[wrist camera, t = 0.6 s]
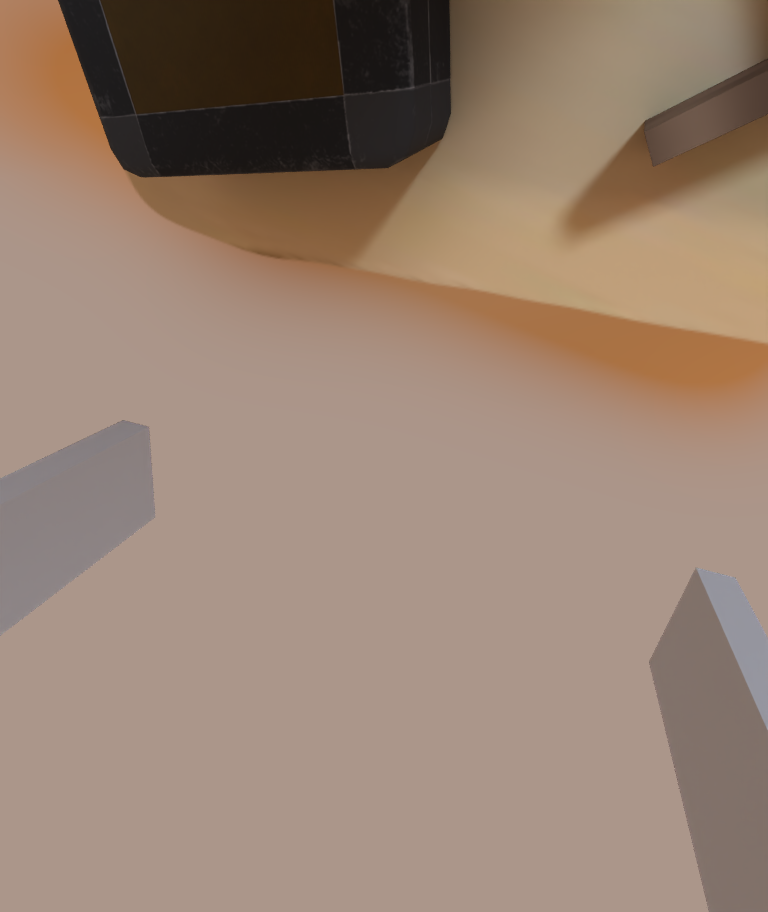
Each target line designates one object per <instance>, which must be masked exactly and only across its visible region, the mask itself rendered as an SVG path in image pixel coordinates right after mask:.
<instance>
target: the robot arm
mask: <svg viewBox="0 0 768 912" xmlns="http://www.w3.org/2000/svg"><path fill="white" fill-rule="evenodd" d="M149 435H150V434H149V427H147V426H144V425H140V424H136V423H132V422H128V421H125V420H122V421H121V422H118V423H116V424H114V425H112V426H110V427H108V428H105V429H104V430H101V431H99V432H97V433H95V434H93V435H91V436H89V437H87V438H84V439H82V440H80V441H78V442H76V443H74V444H72V445H70V446H68V447H66V448H63V449H61V450H59V451H57V452H55V453H53V454H51V455H49V456H47V457H44V458H42V459H40V460H38V461H36V462H34V463H32V464H30V465H28V466H26V467H23V468H21V469H19V470H17V471H15V472H13V473H11V474H9V475H7V476H4V477H2V478H0V635H2V634H3V633H4V632H6V631H7V630H8V629H9V628H11V627H12V626H13V625H15V624H16V623H17V622H19V621H20V620H21V619H23V618H24V617H25V616H27V615H28V614H29V613H30V612H32V611H33V610H34V609H36V608H37V607H38V606H40V605H41V604H42V603H44V602H45V601H46V600H48V599H49V598H50V597H51V596H53V595H54V594H55V593H57V592H58V591H59V590H61V589H62V588H63V587H64V586H66V585H67V584H68V583H69V582H71V581H72V580H74V579H75V578H76V577H78V576H79V575H80V574H81V573H83V572H84V571H85V570H87V569H88V568H89V567H91V566H92V565H93V564H94V563H96V562H97V561H99V560H100V559H101V558H102V557H104V556H105V555H106V554H108V553H109V552H110V551H112V550H113V549H114V548H116V547H117V546H118V545H119V544H121V543H122V542H123V541H125V540H126V539H127V538H129V537H130V536H131V535H133V534H134V533H135V532H136V531H138V530H139V529H140V528H142V527H143V526H144V525H146V524H147V523H148V522H149V521H151V520H152V519H153V518H155V506H154V494H153V493H154V492H153V477H152V463H151V449H150V436H149ZM649 663H650V668H651V672H652V676H653V680H654V685H655V689H656V692H657V697H658V701H659V705H660V710H661V714H662V718H663V722H664V726H665V731H666V735H667V738H668V743H669V747H670V751H671V756H672V760H673V764H674V768H675V772H676V776H677V780H678V785H679V789H680V793H681V797H682V801H683V806H684V809H685V814H686V818H687V822H688V826H689V830H690V834H691V839H692V843H693V847H694V851H695V855H696V859H697V864H698V868H699V872H700V876H701V880H702V885H703V889H704V893H705V897H706V901H707V906H708V910H709V912H768V638H767V636H766V634H765V632H764V630H763V628H762V627H761V625H760V623H759V621H758V619H757V617H756V615H755V613H754V611H753V610H752V608H751V606H750V604H749V602H748V600H747V598H746V597H745V595H744V593H743V591H742V589H741V587H740V585H739V584H738V582H737V580H736V578H734V577H730V576H727V575H723V574H719V573H715V572H711V571H707V570H703V569H699V568H695V571H694V572H693V574H692V576H691V578H690V581H689V582H688V585H687V587H686V589H685V591H684V593H683V595H682V597H681V599H680V601H679V603H678V605H677V607H676V609H675V611H674V613H673V615H672V617H671V619H670V621H669V623H668V625H667V627H666V629H665V631H664V633H663V635H662V637H661V639H660V641H659V643H658V645H657V647H656V649H655V651H654V653H653V655H652V657H651V659H650V661H649Z"/></svg>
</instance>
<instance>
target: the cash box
mask: <svg viewBox="0 0 768 912" xmlns="http://www.w3.org/2000/svg"><path fill="white" fill-rule="evenodd" d="M58 1H59V4H60V7H61V10H62V13H63V15H64V18H65V21H66V24H67V27H68V29H69V32H70V35H71V38H72V41H73V43H74V46H75V49H76V52H77V55H78V58H79V61H80V63H81V66H82V69H83V72H84V75H85V77H86V80H87V83H88V86H89V89H90V92H91V94H92V97H93V100H94V103H95V106H96V109H97V111H98V114H99V117H100V119H101V122H102V125H103V128H104V131H105V134H106V136H107V139H108V142H109V145H110V148H111V150H112V151H113V153H114V155H115V156H116V158H117V159H118V161H119V163H120V164H121V166H122V167H123V169H125V170H127V171H129V172H131V173H133V174H135V175H137V176H140V177H170V176H196V175H222V174H248V173H274V172H300V171H326V170H352V169H374V168H389V167H391V166H393V165H394V164H396V163H398V162H400V161H402V160H404V159H406V158H408V157H409V156H411V155H413V154H415V153H417V152H419V151H421V150H422V149H424V148H426V147H428V146H430V145H431V144H433V143H435V142H437V141H439V140H440V139H442V138H443V136H444V133H445V130H446V127H447V124H448V120H449V117H450V114H451V97H450V14H449V0H58Z"/></svg>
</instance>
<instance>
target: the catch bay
mask: <svg viewBox="0 0 768 912" xmlns="http://www.w3.org/2000/svg"><path fill="white" fill-rule="evenodd" d="M767 114H768V59H766V60H764V61H762V62H760V63H758V64H756V65H754V66H752V67H750V68H748V69H746V70H744V71H742V72H741V73H739V74H737V75H735V76H733V77H731V78H729V79H727V80H725V81H723V82H721V83H719V84H717V85H715V86H713V87H711V88H709V89H707V90H705V91H703V92H701V93H699V94H697V95H695V96H693V97H691V98H689V99H687V100H685V101H683V102H682V103H680V104H678V105H676V106H674V107H672V108H670V109H668V110H666V111H664V112H662V113H660V114H658V115H656V116H654V117H652V118H650V119H648V120H646V121H645V128H644V133H645V137H646V141H647V145H648V148H649V152H650V156H651V160H652V164H653V167H654V166H656V165H658V164H660V163H662V162H665V161H667V160H669V159H671V158H673V157H675V156H678V155H680V154H682V153H684V152H686V151H689V150H691V149H693V148H695V147H697V146H699V145H702V144H704V143H706V142H708V141H710V140H712V139H715V138H717V137H719V136H721V135H723V134H726V133H728V132H730V131H732V130H734V129H736V128H739V127H741V126H743V125H745V124H747V123H749V122H752V121H754V120H756V119H758V118H760V117H763V116H765V115H767Z"/></svg>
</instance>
